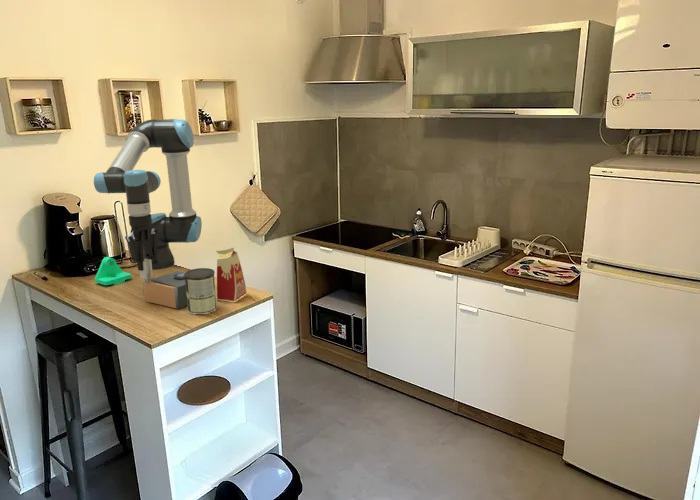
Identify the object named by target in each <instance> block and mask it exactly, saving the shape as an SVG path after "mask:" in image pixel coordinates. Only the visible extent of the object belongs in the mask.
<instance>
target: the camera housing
mask: <svg viewBox="0 0 700 500" xmlns="http://www.w3.org/2000/svg"><path fill="white" fill-rule="evenodd" d="M184 273H185V272H182V271H178V270H176V271H172V272H169V273H166V274H164V275H159V276H157V277H152V278H150V282H154V283H159V284H163V285H168V286H172V287H177V289H178V299H179V308H178V309H181V307H182V308H184V307H188V305H187V294H186V283H185V276H184Z"/></svg>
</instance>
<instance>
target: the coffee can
mask: <svg viewBox="0 0 700 500" xmlns="http://www.w3.org/2000/svg"><path fill="white" fill-rule="evenodd" d="M183 273H184V276H185V283H186V294H187V312H188V314H190V313H192V314H191V315H193V314H205V315H208V314H207V313H209V314H211V313H210V312H212V313H214V312H215V311H214V310H216V309H217V310H218V306H217V289H216V281H215V280H216V278H215V269H212V268H210V267H209V268H208V267H207V268H206V267H200V268H199V267H198V268H194V269H193V268H192V269H188V270H186V271H185V272H183ZM217 310H216V311H217ZM213 311H214V312H213Z"/></svg>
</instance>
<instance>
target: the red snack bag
mask: <svg viewBox="0 0 700 500" xmlns="http://www.w3.org/2000/svg"><path fill="white" fill-rule="evenodd" d="M215 252H216V253H217V256H216V257H217V260H216V301H217V300H228V301H236V300H237V299H239V298H240V297H241V296H243V295H244V294H246V293H247V294H248V292H247V285H246V280H245V277H244V273H243V267H242V265H241V261H240V258H239V254H238V252H237V251H235V247H230V248H228V249H227V248H226V249H219V250H215Z"/></svg>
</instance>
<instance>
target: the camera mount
mask: <svg viewBox="0 0 700 500" xmlns="http://www.w3.org/2000/svg"><path fill="white" fill-rule="evenodd" d="M129 279H132V274H131V273H130V272H125V271H124V270H123V269H122V268H121V267H120V266H119V265H118V264H117V260H116V259H115V258H113V257H109V256H105V257H104V258H103V259H102V260H101V263H100V265H99V268H98V270H97V272H96V275H95V277H94V282H95V283H97V284H101V285H103V286H110V285H113V286H117V285H120V284H123V283H125V282H126V281H125V280H129Z"/></svg>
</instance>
